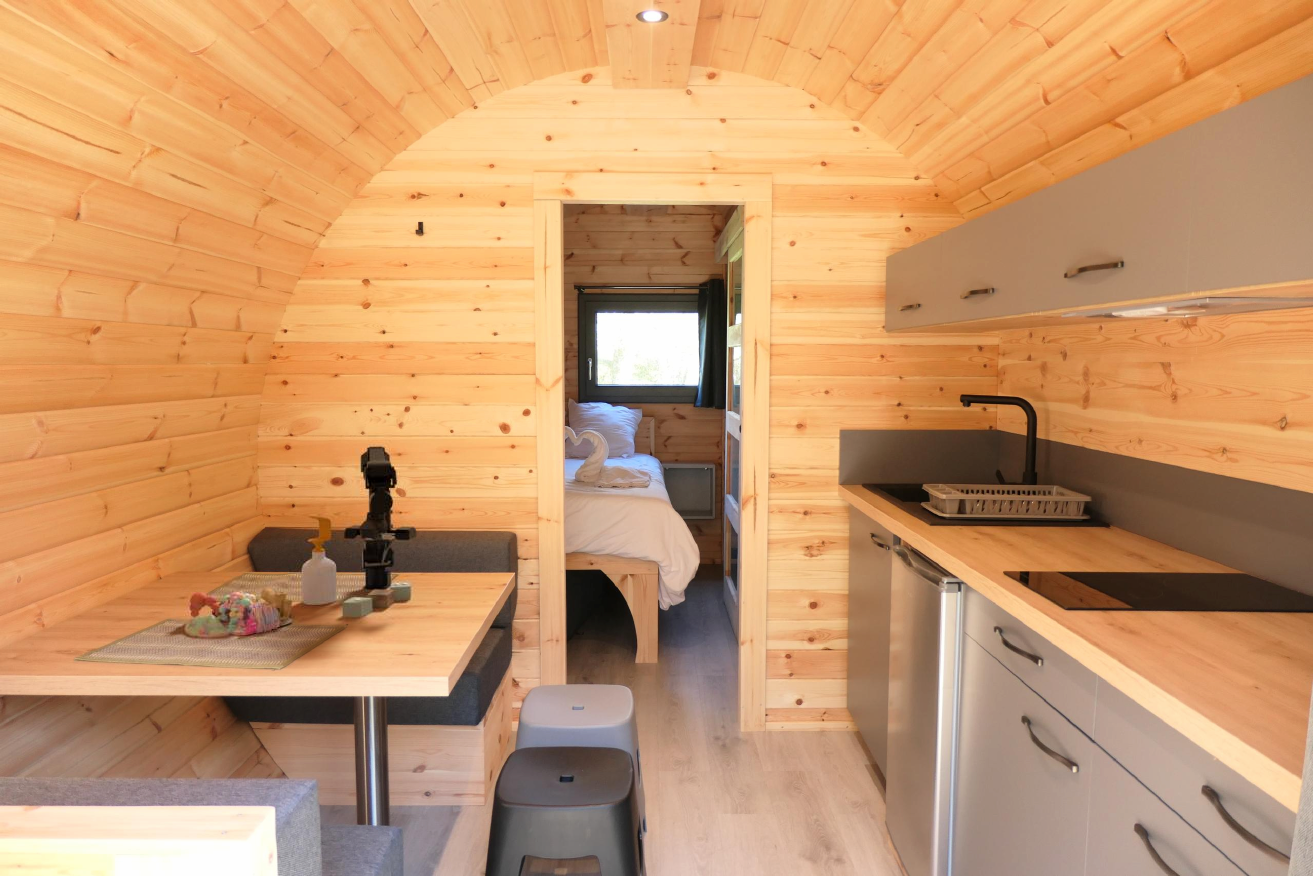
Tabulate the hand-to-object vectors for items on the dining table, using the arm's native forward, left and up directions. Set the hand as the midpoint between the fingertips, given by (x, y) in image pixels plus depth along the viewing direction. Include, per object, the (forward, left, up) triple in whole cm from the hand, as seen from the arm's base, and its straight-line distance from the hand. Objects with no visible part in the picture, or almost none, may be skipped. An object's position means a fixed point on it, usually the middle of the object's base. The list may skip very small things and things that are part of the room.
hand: (380, 563), depth 233 cm
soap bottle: (-19, +2, -12) cm, 23 cm away
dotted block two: (+2, +9, -12) cm, 15 cm away
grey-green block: (-3, -9, -12) cm, 15 cm away
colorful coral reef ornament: (-28, -21, -12) cm, 37 cm away
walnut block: (0, 0, -12) cm, 12 cm away
